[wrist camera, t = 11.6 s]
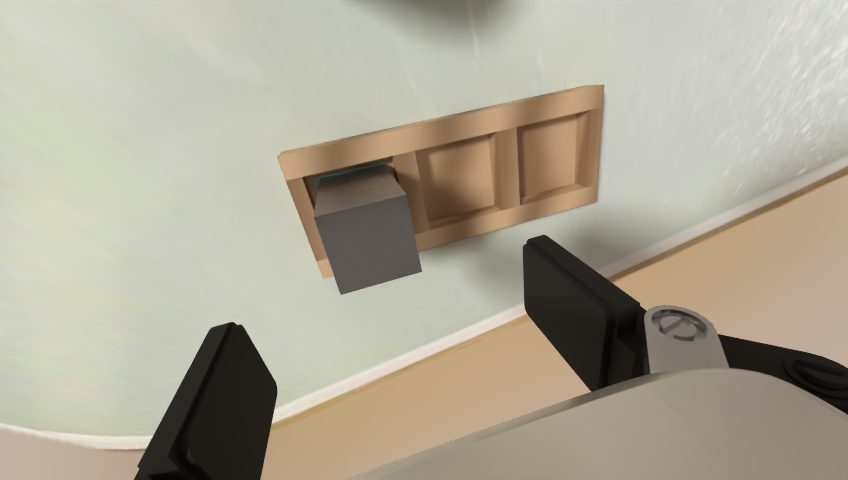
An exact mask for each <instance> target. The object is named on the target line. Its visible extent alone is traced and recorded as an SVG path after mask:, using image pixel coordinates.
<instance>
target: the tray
mask: <svg viewBox="0 0 848 480" xmlns="http://www.w3.org/2000/svg"><path fill="white" fill-rule="evenodd" d="M603 95H604V85H587V86H581V87H576V88H572V89H567V90H562V91H558V92H553V93H549V94H544V95H540V96H535V97H531V98H526V99H521V100H517V101H512V102H508V103H503V104H499V105H494V106H489V107H485V108H480V109H476V110H471V111H467V112H462V113H457V114H453V115H448V116H444V117H439V118H435V119H430V120H426V121H421V122H416V123H412V124H407V125H403V126H398V127H394V128H389V129H384V130H380V131H375V132H371V133H366V134H362V135H357V136H352V137H348V138H343V139H339V140H334V141H330V142H325V143H321V144H316V145H311V146H307V147H302V148H298V149H293V150H289V151H284V152H281V153H280V154H279V155H278V156H277V159H278V161H279V164H280V167H281V169H282V172H283V174H284V177H285V180H286V182H287V185H288V188H289V190H290V193H291V195H292V198H293V201H294V203H295V206H296V209H297V211H298V214H299V217H300V219H301V222H302V224H303V227H304V230H305V232H306V235H307V238H308V240H309V243H310V245H311V248H312V251H313V253H314V256H315V259H316V261H317V264H318V266H319V269H320V272H321V274H322V277H323V279H324V278H328V277H331V276H334V274H333V271H332V269H331V266H330V263H329V260H328V257H327V254H326V251H325V249H324V246H323V243H322V240H321V237H320V234H319V232H318V229H317V226H316V223H315V220H314V211H315V205H316V199H317V193H318V187H319V181H320V178H324V177H328V176H332V175H337V174H341V173H346V172H350V171H354V170H359V169H363V168H368V167H372V166H376V165H381V164H384V165H385V166H386V168H387V169H388V170H389V172H390V173H391V174H392V176H393V177H394V179H395V180H396V181H397V183H398V184H399V185H400V187H401V188H402V189H403V191H404V192H405V193H406V196H407V201H408V206H409V210H410V215H411V220H412V225H413V230H414V235H415V240H416V245H417V250H418V252H420V251H423V250H427V249H430V248H434V247H437V246H441V245H445V244H448V243H452V242H455V241H459V240H462V239H466V238H469V237H473V236H476V235H480V234H483V233H487V232H491V231H494V230H498V229H501V228H505V227H508V226H512V225H515V224H519V223H522V222H526V221H529V220H533V219H537V218H540V217H544V216H547V215H551V214H554V213H558V212H561V211H565V210H568V209H572V208H575V207H579V206H583V205H586V204H590V203H593V202H596V196H597V182H598V167H599V153H600V138H601V124H602V109H603Z"/></svg>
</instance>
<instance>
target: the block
mask: <svg viewBox="0 0 848 480" xmlns="http://www.w3.org/2000/svg"><path fill="white" fill-rule="evenodd" d="M314 220H315V223H316V226H317V229H318V232H319V234H320V237H321V240H322V243H323V246H324V249H325V251H326V254H327V257H328V260H329V263H330V266H331V269H332V271H333V274H334V277H335V280H336V283H337V286H338V289H339V291H340V294H341V295H342V294H345V293H349V292H352V291H356V290H359V289H363V288H366V287H370V286H373V285H377V284H380V283H384V282H387V281H391V280H394V279H398V278H401V277H405V276H408V275H412V274H415V273H419V272H422V269H421V264H420V260H419V255H418V250H417V245H416V240H415V235H414V230H413V225H412V220H411V215H410V210H409V206H408V201H407V196H406V193H405V192H404V191H403V189H402V188H401V187H400V185H399V184H398V183H397V181H396V180H395V179H394V177H393V176H392V174H391V173H390V172H389V170H388V169H387V168H386V166H385V165H384V164H381V165H376V166H372V167H368V168H363V169H359V170H354V171H350V172H346V173H341V174H337V175H332V176H328V177H324V178H320V181H319V187H318V193H317V199H316V205H315V211H314Z"/></svg>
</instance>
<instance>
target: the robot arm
mask: <svg viewBox="0 0 848 480" xmlns="http://www.w3.org/2000/svg"><path fill="white" fill-rule="evenodd" d="M523 271H524V305H525V310H526V312H527V314H528V316H529V317H530V318H531V319H532V320H533V322H534V323H535V324H536V325H537V327H538V328H539V329H540V330H541V331H542V332H543V334H544V335H545V336H546V337H547V339H548V340H549V341H550V342H551V344H552V345H553V346H554V347H555V348H556V350H557V351H558V352H559V353H560V354H561V356H562V357H563V358H564V359H565V361H566V362H567V363H568V364H569V365H570V367H571V368H572V369H573V370H574V371H575V373H576V374H577V375H578V376H579V377H580V379H581V380H582V381H583V382H584V383H585V385H586V386H587V387H588V388H589V390H590V391H592V392H590V393H587V394H584V395H581V396H578V397H575V398H572V399H569V400H566V401H563V402H560V403H557V404H555V405H552V406H549V407H546V408H543V409H540V410H538V411H535V412H532V413H529V414H526V415H523V416H520V417H518V418H515V419H512V420H509V421H506V422H503V423H501V424H498V425H495V426H492V427H489V428H486V429H483V430H481V431H478V432H475V433H472V434H469V435H467V436H464V437H461V438H458V439H455V440H453V441H450V442H447V443H444V444H442V445H439V446H436V447H433V448H430V449H427V450H425V451H422V452H419V453H416V454H413V455H411V456H408V457H405V458H403V459H399V460H397V461H394V462H391V463H388V464H385V465H383V466H380V467H377V468H375V469H372V470H369V471H366V472H363V473H361V474H358V475H355V476H352V477H350V478H347V479H344V480H848V368H846V367H844V366H843V365H841V364H839V363H837V362H834V361H832V360H830V359H827V358H825V357H822V356H818V355H815V354H811V353H807V352H802V351H797V350H792V349H787V348H783V347H778V346H773V345H768V344H763V343H758V342H754V341H749V340H744V339H739V338H734V337H729V336H724V335H720V334H717V331H716V329H715V328H714V326H713V324H712V323H711V322H709V321H708V320H707V319H706V318H705V317H703V316H701V315H700V314H698V313H696V312H694V311H691V310H688V309H686V308H682V307H677V306H667V305H663V306H656V307H653V308H651V309H649V310H648V311H646V310H645V309H643V308H642V307H641V306H640V303H639V302H638V301H636V300H635V299H633V298H632V297H631V296H629V295H628V294H626V293H625V292H624V291H622V290H621V289H620V288H618V287H617V286H615V285H614V284H613V283H611V282H610V281H609V280H607V279H606V278H604V277H603V276H602V275H600V274H599V273H597V272H596V271H595V270H593V269H592V268H591V267H589V266H588V265H586V264H585V263H584V262H582V261H581V260H579V259H578V258H577V257H575V256H574V255H573V254H571V253H570V252H568V251H567V250H566V249H564V248H563V247H562V246H560V245H559V244H557V243H556V242H555V241H553V240H552V239H550V238H549V237H548V236H546V235H541V236H538V237H534V238H531V239H528V240H527V244H525V245H524V246H523ZM276 398H277V385H276V382H275V380H274V379H273V377H272V375H271V373H270V372H269V370H268V368H267V367H266V365H265V363H264V361H263V360H262V358H261V356H260V354H259V353H258V351H257V349H256V347H255V346H254V344H253V342H252V341H251V339H250V337H249V335H248V334H247V332H246V330H245V328H244V327H243V326H242V325H236V324H235V323H234V322H230V323H226V324H223V325H219V326H216V327H212V328H211V329H210V330H209V332H208V334H207V335H206V337H205V339H204V341H203V343H202V345H201V347H200V349H199V351H198V352H197V354H196V356H195V358H194V360H193V362H192V364H191V366H190V368H189V369H188V371H187V373H186V375H185V377H184V379H183V381H182V383H181V385H180V387H179V388H178V390H177V392H176V394H175V396H174V398H173V400H172V402H171V404H170V405H169V407H168V409H167V411H166V413H165V415H164V417H163V419H162V421H161V422H160V424H159V426H158V428H157V430H156V432H155V434H154V436H153V438H152V439H151V441H150V443H149V445H148V447H147V449H146V451H145V453H144V455H143V457H142V459H141V460H140V462H139V464H138V467H139V468H140V469H139V471H138V473H137V475H136V477H135V479H134V480H260V478H261V473H262V468H263V463H264V458H265V453H266V448H267V443H268V438H269V433H270V428H271V423H272V418H273V413H274V408H275V403H276Z"/></svg>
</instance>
